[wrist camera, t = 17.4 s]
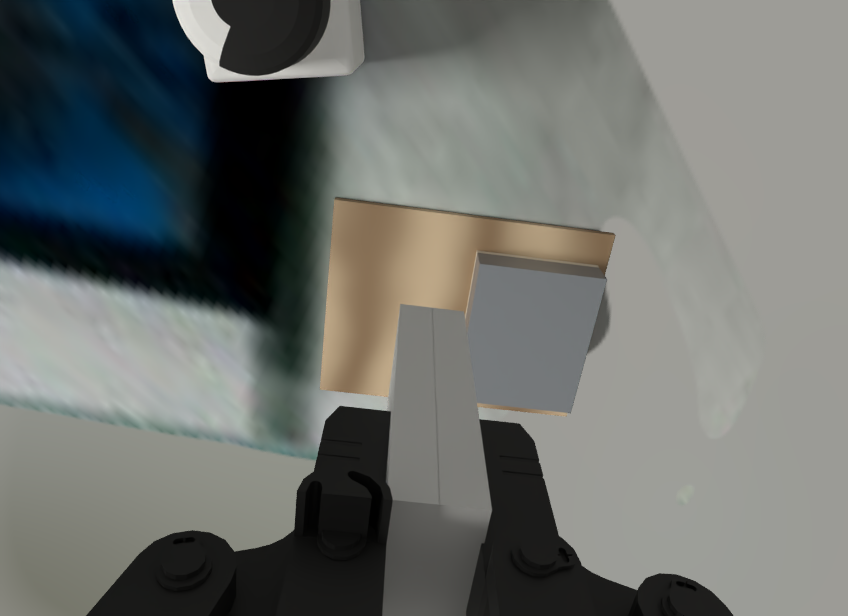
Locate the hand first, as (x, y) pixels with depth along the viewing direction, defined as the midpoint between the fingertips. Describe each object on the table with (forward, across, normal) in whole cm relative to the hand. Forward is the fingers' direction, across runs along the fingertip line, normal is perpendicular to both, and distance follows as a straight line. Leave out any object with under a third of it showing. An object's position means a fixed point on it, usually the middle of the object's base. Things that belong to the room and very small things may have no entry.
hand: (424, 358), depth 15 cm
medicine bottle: (+27, -8, +7) cm, 29 cm away
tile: (+25, +4, -11) cm, 27 cm away
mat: (+26, +4, -11) cm, 29 cm away
